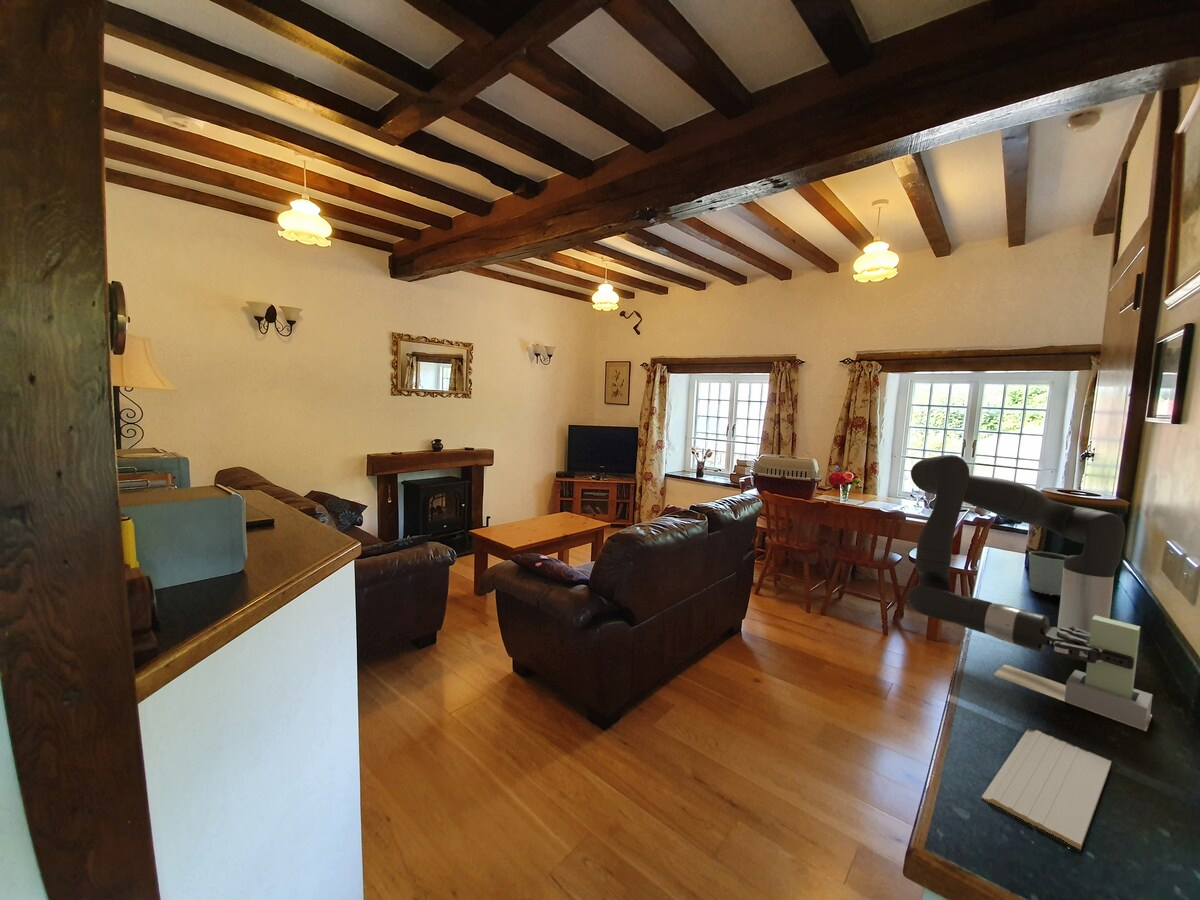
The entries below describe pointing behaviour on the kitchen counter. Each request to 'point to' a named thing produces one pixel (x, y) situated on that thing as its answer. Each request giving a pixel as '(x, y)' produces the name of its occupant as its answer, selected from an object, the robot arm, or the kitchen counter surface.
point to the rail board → (1040, 685)
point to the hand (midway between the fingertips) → (1134, 660)
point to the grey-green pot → (1046, 572)
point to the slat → (1116, 640)
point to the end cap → (1109, 701)
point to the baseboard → (1051, 785)
